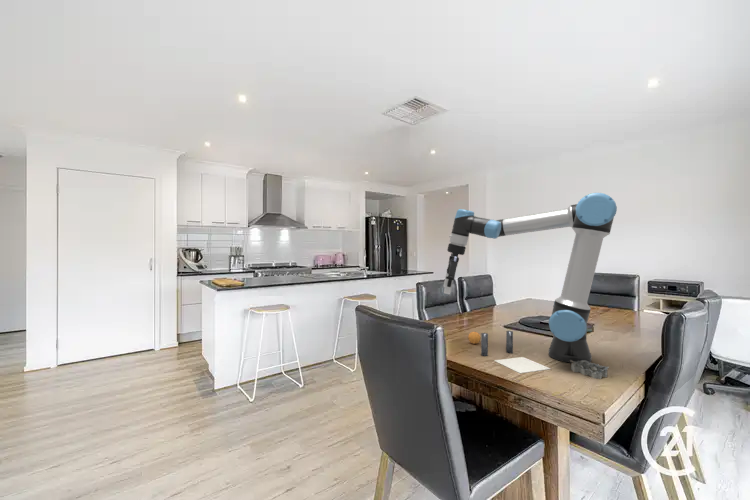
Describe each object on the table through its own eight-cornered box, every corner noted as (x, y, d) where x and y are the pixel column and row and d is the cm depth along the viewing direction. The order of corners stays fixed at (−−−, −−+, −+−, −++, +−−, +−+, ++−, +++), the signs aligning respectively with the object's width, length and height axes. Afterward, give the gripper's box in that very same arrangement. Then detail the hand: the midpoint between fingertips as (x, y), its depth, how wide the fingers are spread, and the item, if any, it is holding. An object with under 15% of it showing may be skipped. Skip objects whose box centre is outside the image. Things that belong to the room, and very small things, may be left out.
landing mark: (550, 369, 124) (550, 368, 124) (520, 373, 120) (520, 372, 120) (522, 357, 137) (522, 356, 137) (494, 360, 133) (494, 360, 133)
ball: (483, 344, 155) (483, 332, 155) (472, 345, 153) (472, 333, 153) (475, 341, 160) (475, 330, 160) (465, 342, 159) (465, 330, 159)
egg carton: (567, 370, 124) (567, 359, 124) (581, 367, 127) (581, 356, 127) (597, 380, 114) (597, 368, 114) (611, 377, 117) (611, 365, 117)
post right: (514, 353, 143) (514, 331, 143) (509, 353, 142) (509, 332, 142) (509, 351, 145) (510, 330, 145) (504, 351, 145) (505, 330, 145)
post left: (489, 356, 139) (489, 334, 139) (483, 356, 138) (483, 334, 138) (485, 354, 141) (485, 332, 141) (479, 354, 141) (480, 333, 141)
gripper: (448, 240, 162) (438, 283, 165) (450, 244, 137) (438, 294, 140) (464, 244, 161) (453, 286, 163) (468, 248, 136) (456, 299, 139)
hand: (446, 290), depth 152 cm, fingers open, 13 cm apart
